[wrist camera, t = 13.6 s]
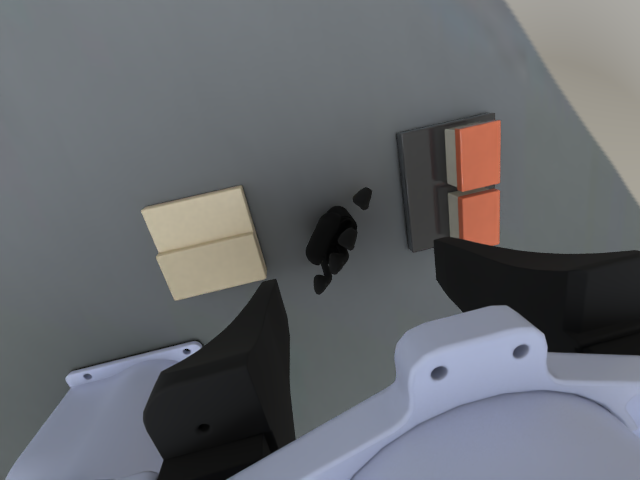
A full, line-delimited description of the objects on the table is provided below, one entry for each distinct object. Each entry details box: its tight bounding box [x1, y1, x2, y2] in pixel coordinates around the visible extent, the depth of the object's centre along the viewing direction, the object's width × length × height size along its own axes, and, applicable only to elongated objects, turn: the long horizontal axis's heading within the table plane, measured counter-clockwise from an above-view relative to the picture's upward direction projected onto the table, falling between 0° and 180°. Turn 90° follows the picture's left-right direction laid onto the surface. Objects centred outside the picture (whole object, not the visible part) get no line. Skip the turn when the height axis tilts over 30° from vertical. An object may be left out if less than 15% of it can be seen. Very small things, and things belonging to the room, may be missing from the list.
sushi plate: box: [397, 113, 501, 252], centre depth 21 cm, size 6×8×3 cm
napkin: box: [141, 185, 267, 301], centre depth 20 cm, size 6×6×1 cm
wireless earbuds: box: [306, 187, 372, 295], centre depth 19 cm, size 7×2×5 cm, turn 155°
